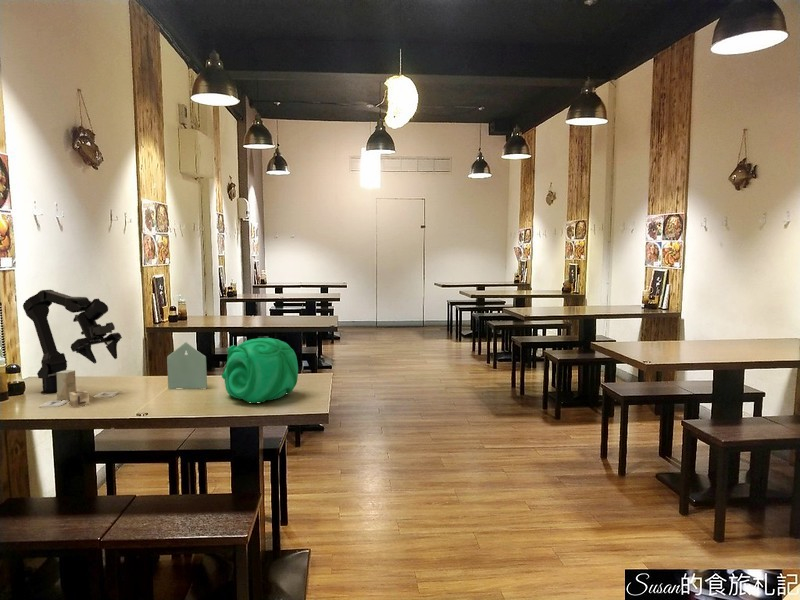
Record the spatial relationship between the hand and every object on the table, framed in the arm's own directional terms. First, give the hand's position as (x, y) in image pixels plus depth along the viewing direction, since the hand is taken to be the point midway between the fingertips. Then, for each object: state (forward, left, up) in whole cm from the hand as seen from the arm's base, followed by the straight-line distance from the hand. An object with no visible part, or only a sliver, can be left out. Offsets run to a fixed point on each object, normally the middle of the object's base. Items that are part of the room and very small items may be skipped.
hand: (106, 360), depth 221 cm
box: (-16, +1, -15) cm, 22 cm away
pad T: (-17, -7, -15) cm, 23 cm away
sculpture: (+58, -5, -15) cm, 61 cm away
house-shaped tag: (+27, +16, -15) cm, 35 cm away
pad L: (-3, +5, -15) cm, 16 cm away
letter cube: (-7, -9, -15) cm, 19 cm away
